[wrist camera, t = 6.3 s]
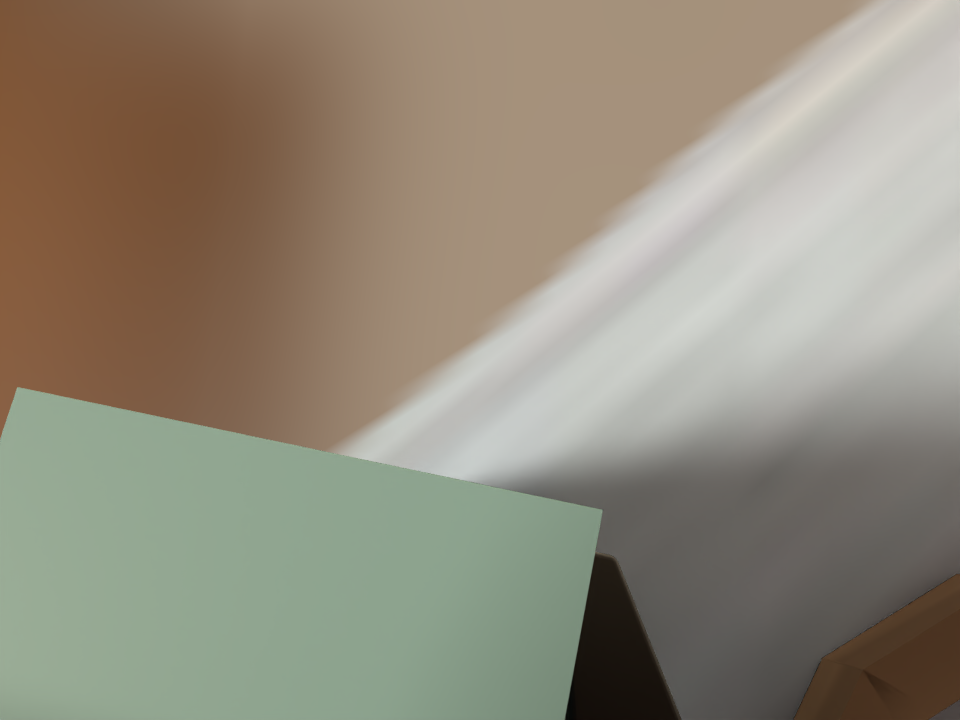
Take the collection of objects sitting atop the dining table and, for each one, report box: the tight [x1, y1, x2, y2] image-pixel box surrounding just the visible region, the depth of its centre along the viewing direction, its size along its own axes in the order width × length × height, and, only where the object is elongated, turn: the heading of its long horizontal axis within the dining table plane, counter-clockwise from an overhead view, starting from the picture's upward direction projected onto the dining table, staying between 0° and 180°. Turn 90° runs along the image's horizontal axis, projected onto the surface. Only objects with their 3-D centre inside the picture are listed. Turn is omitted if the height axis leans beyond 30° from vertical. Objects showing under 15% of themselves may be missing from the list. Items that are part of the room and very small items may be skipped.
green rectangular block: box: [0, 387, 603, 720], centre depth 10 cm, size 4×4×11 cm
